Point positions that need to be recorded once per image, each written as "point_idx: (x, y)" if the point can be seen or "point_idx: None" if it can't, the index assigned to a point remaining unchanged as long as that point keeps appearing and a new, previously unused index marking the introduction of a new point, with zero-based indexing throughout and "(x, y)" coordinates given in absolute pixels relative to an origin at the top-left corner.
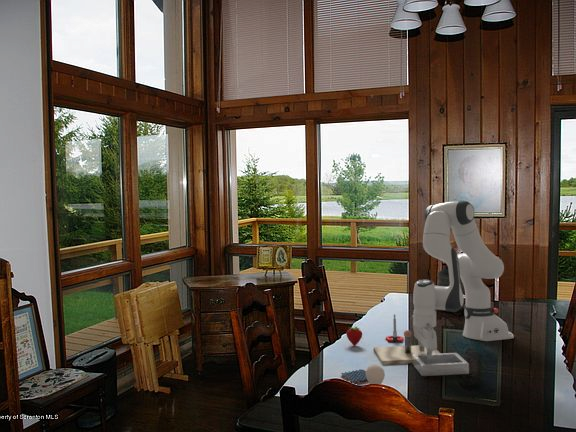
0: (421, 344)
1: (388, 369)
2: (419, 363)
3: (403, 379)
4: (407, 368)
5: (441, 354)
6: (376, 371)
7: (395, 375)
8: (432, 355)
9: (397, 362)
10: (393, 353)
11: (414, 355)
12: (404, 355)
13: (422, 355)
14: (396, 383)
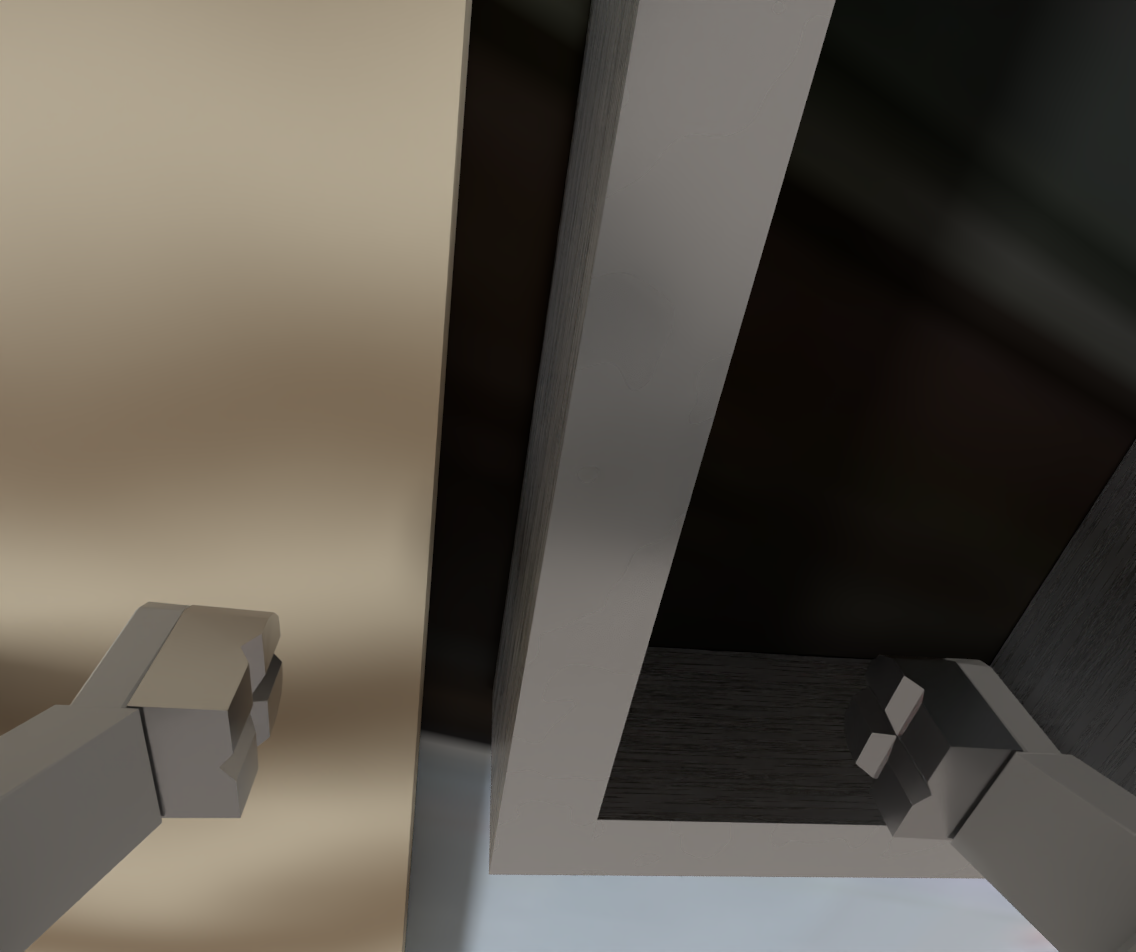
0: (50, 845)
1: (596, 940)
2: None
3: (967, 887)
4: None
5: (759, 167)
6: None
7: (813, 920)
8: (687, 505)
9: (409, 866)
10: None
11: (553, 855)
12: None
13: (616, 735)
14: (1015, 944)
